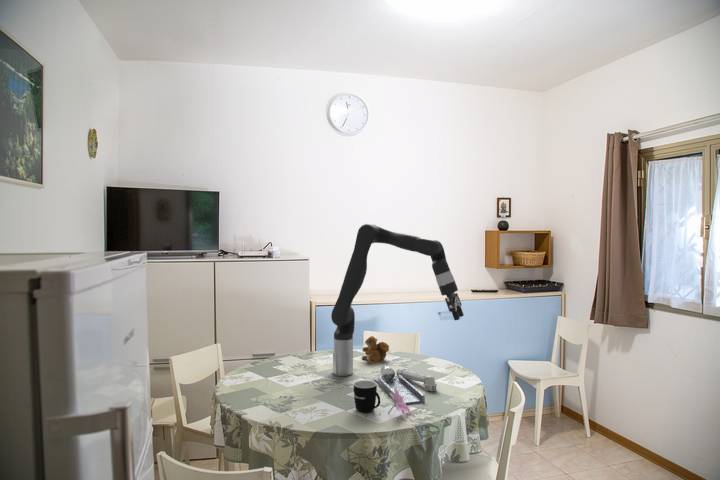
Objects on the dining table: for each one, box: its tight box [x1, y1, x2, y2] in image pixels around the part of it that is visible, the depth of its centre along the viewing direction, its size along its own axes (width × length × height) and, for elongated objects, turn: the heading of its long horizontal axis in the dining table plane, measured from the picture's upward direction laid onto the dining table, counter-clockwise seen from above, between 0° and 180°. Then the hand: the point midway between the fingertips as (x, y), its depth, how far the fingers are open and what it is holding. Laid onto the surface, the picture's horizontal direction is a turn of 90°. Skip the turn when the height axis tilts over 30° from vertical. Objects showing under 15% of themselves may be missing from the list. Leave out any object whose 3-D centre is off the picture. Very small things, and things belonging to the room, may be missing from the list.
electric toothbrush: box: [396, 368, 438, 392], centre depth 205 cm, size 5×7×25 cm
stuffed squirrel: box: [361, 335, 390, 364], centre depth 242 cm, size 10×14×13 cm
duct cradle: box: [374, 365, 426, 405], centre depth 196 cm, size 32×11×6 cm, turn 16°
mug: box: [353, 379, 381, 414], centre depth 173 cm, size 12×9×10 cm
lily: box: [387, 386, 412, 420], centre depth 170 cm, size 12×12×10 cm
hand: (459, 318), depth 197 cm, fingers open, 8 cm apart
